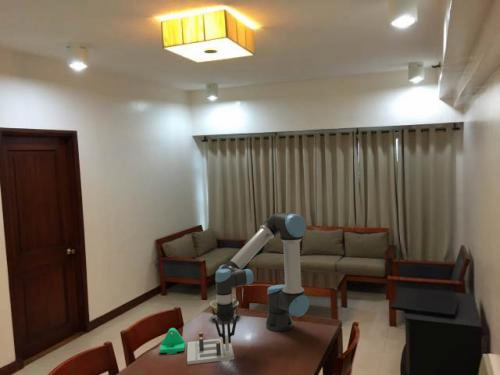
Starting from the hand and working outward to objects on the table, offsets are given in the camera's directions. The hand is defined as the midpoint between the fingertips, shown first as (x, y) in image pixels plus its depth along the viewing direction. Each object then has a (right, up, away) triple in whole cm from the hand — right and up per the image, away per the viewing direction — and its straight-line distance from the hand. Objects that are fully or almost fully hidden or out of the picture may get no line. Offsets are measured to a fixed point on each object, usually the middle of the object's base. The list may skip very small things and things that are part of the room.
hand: (227, 349), depth 203 cm
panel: (-9, -3, +6) cm, 11 cm away
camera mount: (-28, -5, +10) cm, 30 cm away
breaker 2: (-4, -1, 0) cm, 4 cm away
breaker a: (-14, -1, +12) cm, 19 cm away
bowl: (-4, -1, +52) cm, 52 cm away
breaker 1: (-13, -1, +5) cm, 14 cm away
